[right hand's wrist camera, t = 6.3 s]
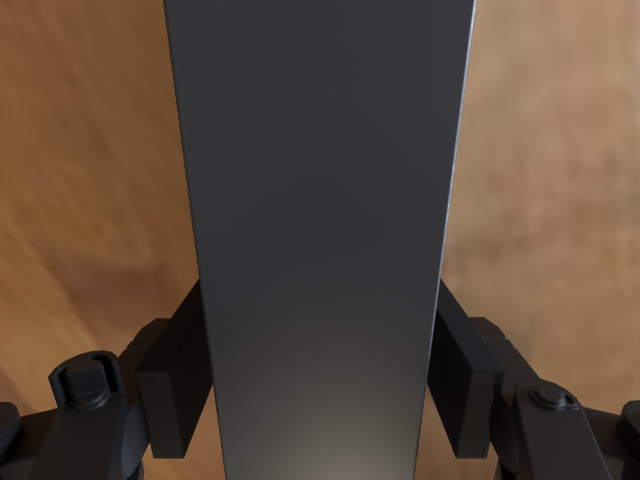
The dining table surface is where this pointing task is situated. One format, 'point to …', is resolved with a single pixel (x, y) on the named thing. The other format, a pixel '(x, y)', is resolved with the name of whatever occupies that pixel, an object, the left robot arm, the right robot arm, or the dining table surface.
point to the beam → (319, 220)
